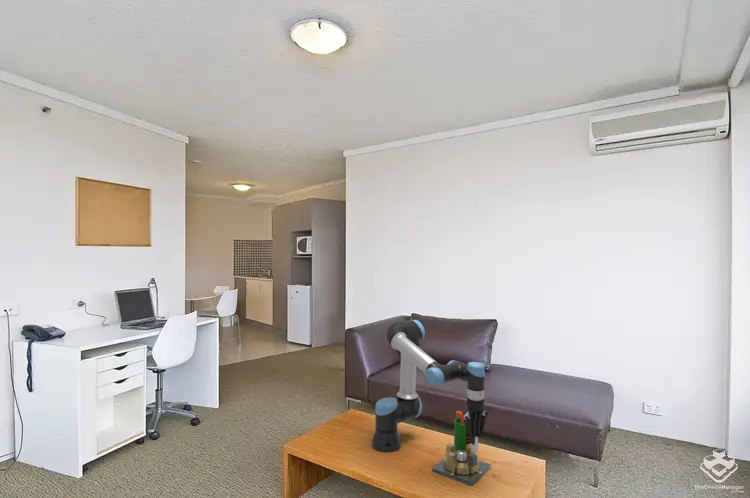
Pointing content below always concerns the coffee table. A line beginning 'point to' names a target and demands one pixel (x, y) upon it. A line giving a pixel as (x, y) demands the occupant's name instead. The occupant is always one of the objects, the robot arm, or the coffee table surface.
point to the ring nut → (461, 468)
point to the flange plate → (466, 479)
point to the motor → (460, 433)
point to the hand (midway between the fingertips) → (474, 450)
